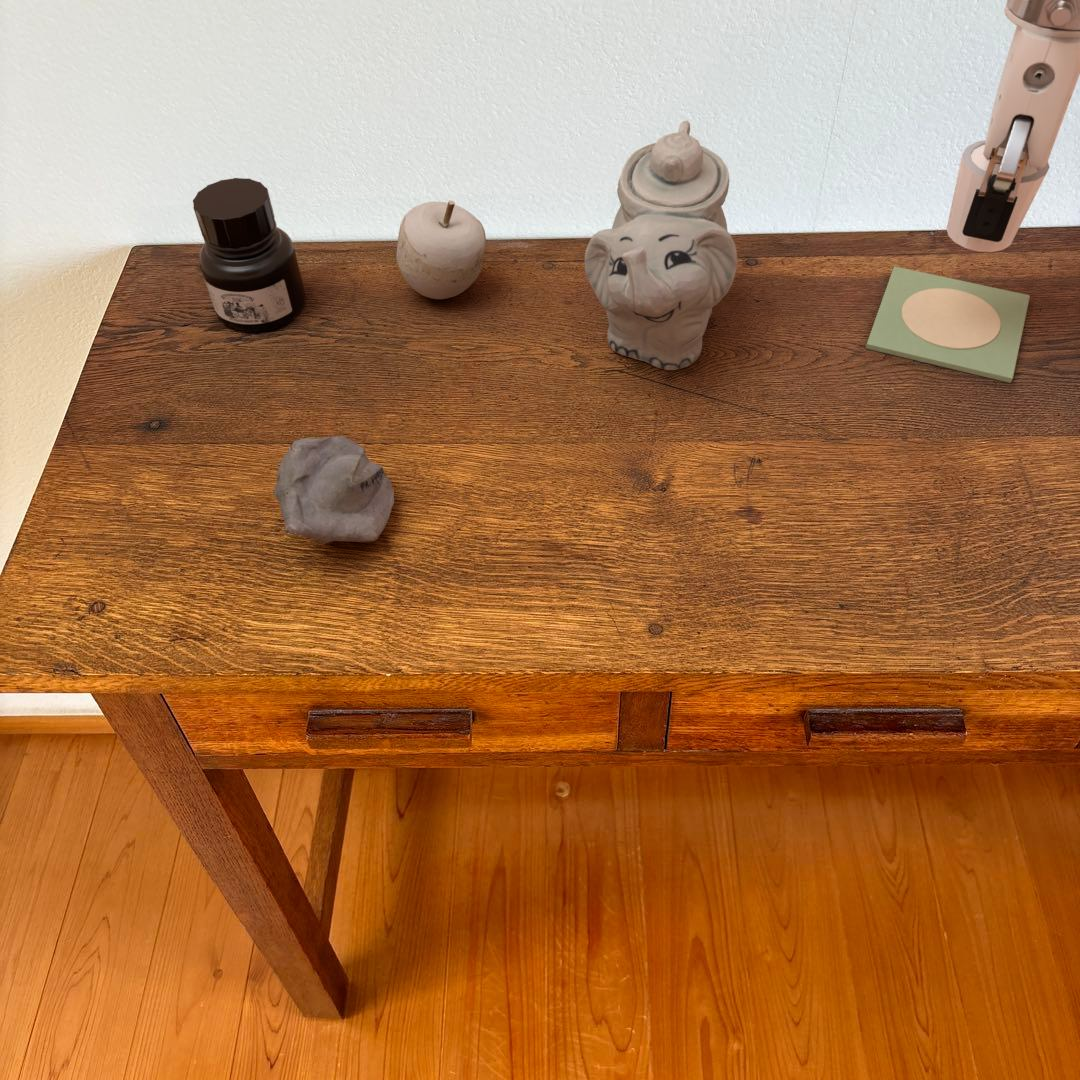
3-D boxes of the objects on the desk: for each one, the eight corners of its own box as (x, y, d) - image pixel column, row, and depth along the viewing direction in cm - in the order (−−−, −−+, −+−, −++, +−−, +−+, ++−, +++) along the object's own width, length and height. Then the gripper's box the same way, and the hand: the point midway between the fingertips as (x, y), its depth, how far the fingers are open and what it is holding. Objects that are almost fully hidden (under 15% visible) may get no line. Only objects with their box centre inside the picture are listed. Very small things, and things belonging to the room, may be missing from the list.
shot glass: (1022, 218, 90) (1051, 144, 85) (1019, 262, 86) (1049, 187, 81) (942, 206, 92) (965, 132, 86) (935, 248, 88) (959, 174, 82)
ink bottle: (197, 327, 99) (158, 219, 90) (235, 274, 104) (202, 166, 95) (290, 340, 97) (260, 231, 88) (323, 285, 103) (299, 177, 93)
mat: (1028, 300, 98) (1030, 293, 98) (1010, 383, 91) (1013, 376, 90) (892, 270, 102) (894, 264, 101) (865, 348, 94) (867, 342, 94)
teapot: (637, 419, 89) (650, 233, 75) (537, 333, 97) (531, 149, 83) (773, 345, 95) (809, 159, 81) (668, 269, 103) (684, 87, 89)
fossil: (379, 583, 78) (363, 515, 72) (266, 575, 79) (240, 507, 73) (407, 478, 85) (394, 408, 79) (302, 472, 86) (281, 402, 80)
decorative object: (388, 282, 103) (373, 193, 95) (465, 255, 105) (456, 166, 98) (425, 329, 98) (413, 239, 90) (505, 300, 100) (499, 210, 93)
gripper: (1111, 55, 67) (1020, 279, 81) (1128, -43, 78) (1044, 171, 91) (994, 38, 70) (925, 259, 83) (1025, -56, 80) (958, 155, 93)
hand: (988, 211), depth 87 cm, fingers closed on shot glass, 6 cm apart
